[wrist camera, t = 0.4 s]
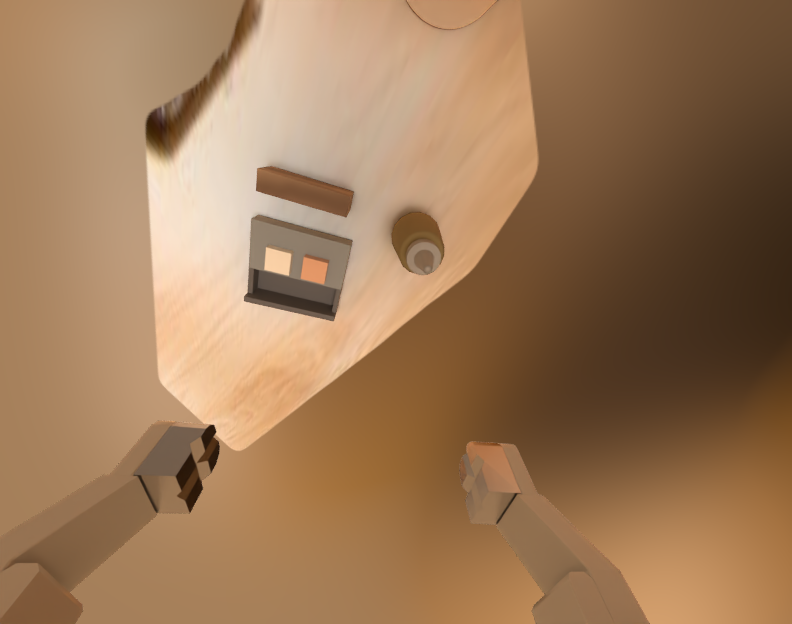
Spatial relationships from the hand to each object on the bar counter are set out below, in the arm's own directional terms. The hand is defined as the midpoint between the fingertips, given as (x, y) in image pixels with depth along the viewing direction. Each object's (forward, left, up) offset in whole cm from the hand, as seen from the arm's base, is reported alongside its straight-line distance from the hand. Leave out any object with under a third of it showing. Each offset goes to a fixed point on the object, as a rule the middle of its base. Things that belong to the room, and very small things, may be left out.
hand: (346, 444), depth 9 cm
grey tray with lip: (+14, -11, -44) cm, 48 cm away
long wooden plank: (0, -11, -45) cm, 46 cm away
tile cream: (+12, -14, -41) cm, 45 cm away
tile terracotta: (+12, -8, -41) cm, 44 cm away
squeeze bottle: (+2, +7, -45) cm, 45 cm away
